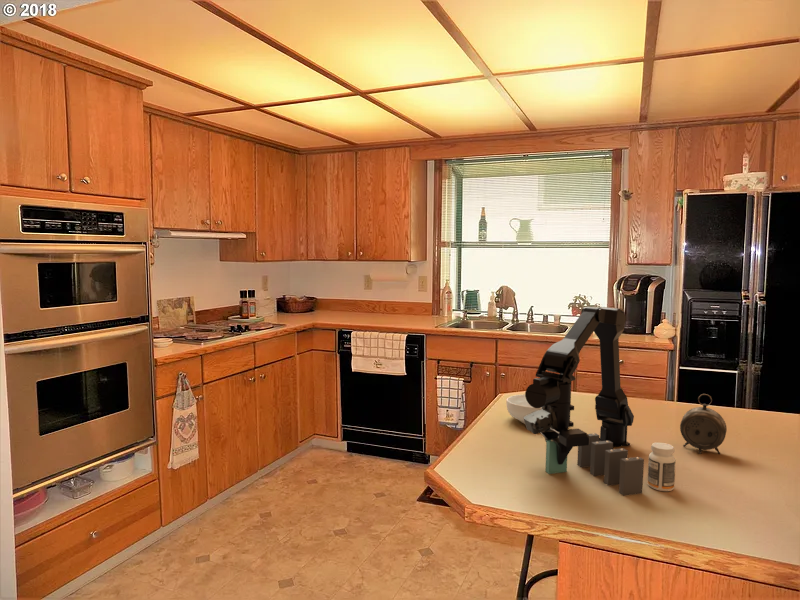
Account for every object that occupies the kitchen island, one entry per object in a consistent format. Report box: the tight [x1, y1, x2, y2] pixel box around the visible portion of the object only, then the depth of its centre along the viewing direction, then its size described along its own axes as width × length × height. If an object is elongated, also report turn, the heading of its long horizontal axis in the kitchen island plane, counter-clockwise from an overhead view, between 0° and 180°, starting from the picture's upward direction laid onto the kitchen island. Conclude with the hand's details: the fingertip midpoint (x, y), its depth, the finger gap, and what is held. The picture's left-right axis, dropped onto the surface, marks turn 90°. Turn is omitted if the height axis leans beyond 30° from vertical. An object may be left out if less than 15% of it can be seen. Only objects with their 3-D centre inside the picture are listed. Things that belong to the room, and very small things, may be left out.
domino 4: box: [603, 448, 629, 487], centre depth 131 cm, size 5×2×8 cm, turn 105°
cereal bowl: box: [505, 393, 542, 425], centre depth 177 cm, size 17×17×7 cm
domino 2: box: [576, 432, 600, 468], centre depth 141 cm, size 5×2×8 cm, turn 105°
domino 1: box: [545, 440, 568, 475], centre depth 137 cm, size 5×2×8 cm, turn 105°
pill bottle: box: [647, 441, 677, 492], centre depth 129 cm, size 6×6×10 cm
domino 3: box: [589, 441, 614, 477], centre depth 136 cm, size 5×2×8 cm, turn 105°
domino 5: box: [618, 456, 645, 497], centre depth 126 cm, size 5×2×8 cm, turn 105°
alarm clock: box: [679, 393, 728, 455], centre depth 151 cm, size 11×5×16 cm, turn 56°
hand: (556, 461), depth 137 cm, fingers open, 3 cm apart
